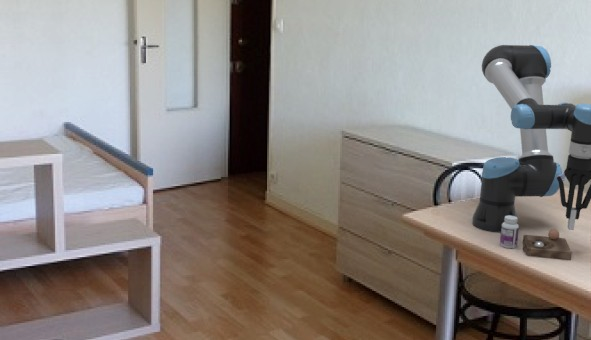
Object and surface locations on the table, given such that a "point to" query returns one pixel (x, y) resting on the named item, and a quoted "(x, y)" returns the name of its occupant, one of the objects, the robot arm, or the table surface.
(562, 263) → the table surface
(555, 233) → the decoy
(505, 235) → the pill bottle
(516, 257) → the table surface
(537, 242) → the ball
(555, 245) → the brown flat square slab
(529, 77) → the robot arm
